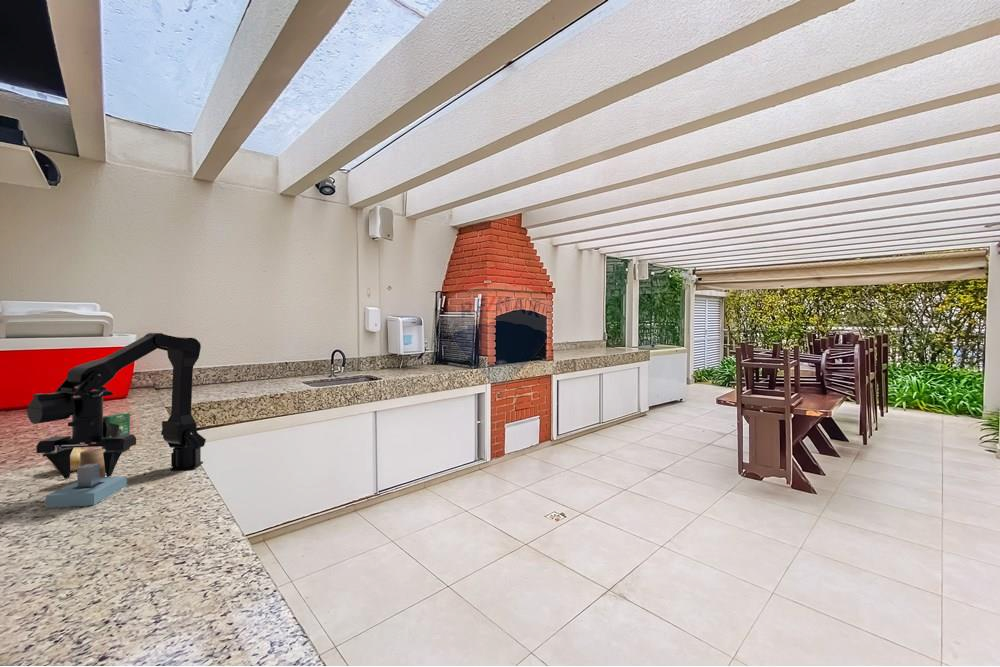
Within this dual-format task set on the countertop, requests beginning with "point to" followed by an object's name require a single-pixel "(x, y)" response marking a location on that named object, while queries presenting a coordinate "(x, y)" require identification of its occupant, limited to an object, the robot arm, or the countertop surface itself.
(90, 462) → the round peg
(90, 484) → the square peg
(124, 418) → the coffee box
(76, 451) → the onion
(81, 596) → the countertop surface
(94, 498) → the socket board
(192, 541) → the countertop surface
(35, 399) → the robot arm
